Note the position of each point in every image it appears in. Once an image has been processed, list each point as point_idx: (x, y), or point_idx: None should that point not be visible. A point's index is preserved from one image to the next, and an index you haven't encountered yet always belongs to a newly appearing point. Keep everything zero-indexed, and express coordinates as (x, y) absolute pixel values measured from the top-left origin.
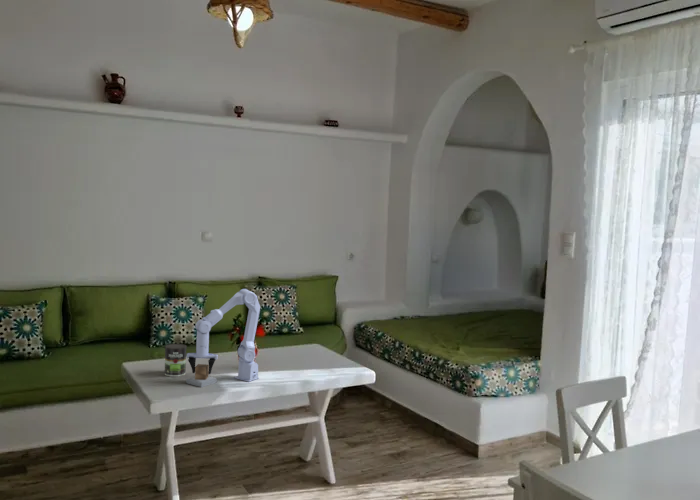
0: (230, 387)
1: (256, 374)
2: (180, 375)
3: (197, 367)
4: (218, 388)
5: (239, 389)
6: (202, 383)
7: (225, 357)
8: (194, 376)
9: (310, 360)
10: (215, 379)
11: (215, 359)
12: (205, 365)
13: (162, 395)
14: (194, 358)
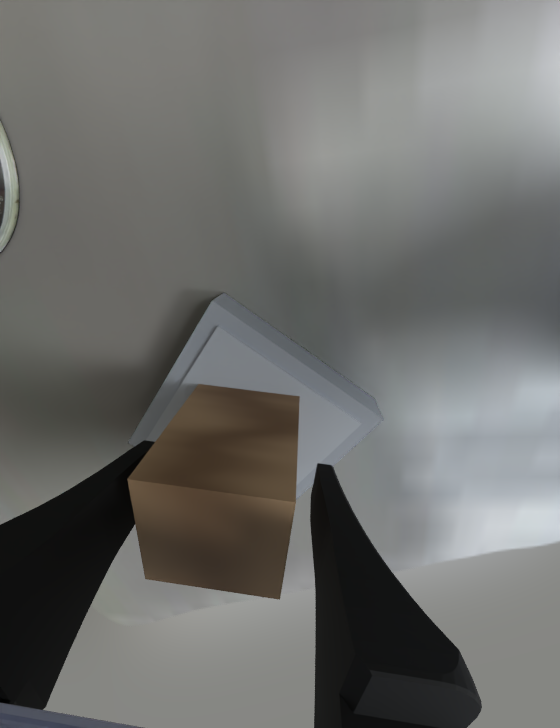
0: (478, 499)
1: None
2: (4, 240)
3: (174, 576)
4: (389, 513)
5: (536, 531)
6: None
7: None
8: (167, 379)
9: None
10: (370, 425)
11: (459, 713)
12: (255, 536)
13: (115, 583)
14: (3, 675)
